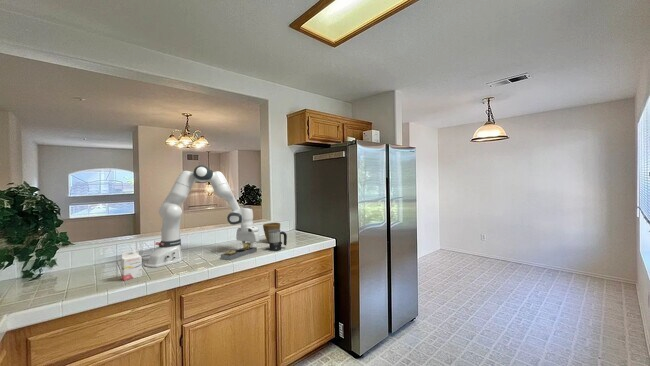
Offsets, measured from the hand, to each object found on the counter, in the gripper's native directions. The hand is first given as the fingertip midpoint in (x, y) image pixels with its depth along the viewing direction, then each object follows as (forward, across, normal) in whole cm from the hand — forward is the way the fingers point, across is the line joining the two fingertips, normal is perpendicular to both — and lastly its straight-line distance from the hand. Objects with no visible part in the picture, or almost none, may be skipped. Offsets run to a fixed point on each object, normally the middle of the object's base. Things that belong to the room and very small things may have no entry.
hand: (247, 247), depth 196 cm
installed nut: (+4, 0, -16) cm, 16 cm away
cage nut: (+2, 0, 0) cm, 2 cm away
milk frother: (+4, +11, +19) cm, 22 cm away
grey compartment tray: (+4, 0, -8) cm, 9 cm away
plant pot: (+4, -6, +34) cm, 35 cm away
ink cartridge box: (+4, -22, -66) cm, 70 cm away
